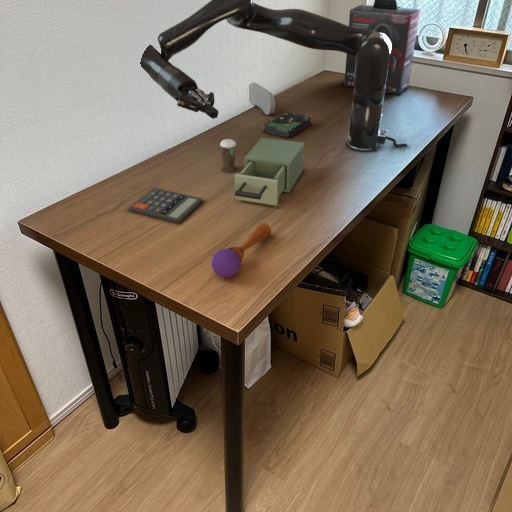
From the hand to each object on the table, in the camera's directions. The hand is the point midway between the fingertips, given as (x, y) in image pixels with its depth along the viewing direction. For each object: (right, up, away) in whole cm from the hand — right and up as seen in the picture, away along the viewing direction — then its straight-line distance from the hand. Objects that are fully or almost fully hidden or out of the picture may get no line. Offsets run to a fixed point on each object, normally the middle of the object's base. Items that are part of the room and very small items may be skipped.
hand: (215, 115), depth 132 cm
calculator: (-13, -25, -5) cm, 28 cm away
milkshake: (+3, -13, +12) cm, 18 cm away
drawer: (+12, -22, -3) cm, 25 cm away
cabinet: (+16, -16, +8) cm, 24 cm away
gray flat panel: (+13, +17, +53) cm, 57 cm away
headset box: (+61, +33, +73) cm, 101 cm away
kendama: (+8, -38, -23) cm, 45 cm away
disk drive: (+22, +6, +38) cm, 44 cm away
